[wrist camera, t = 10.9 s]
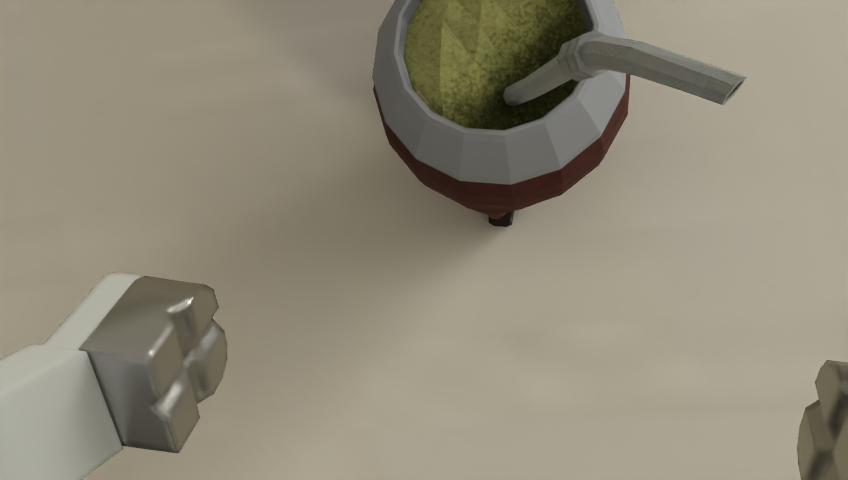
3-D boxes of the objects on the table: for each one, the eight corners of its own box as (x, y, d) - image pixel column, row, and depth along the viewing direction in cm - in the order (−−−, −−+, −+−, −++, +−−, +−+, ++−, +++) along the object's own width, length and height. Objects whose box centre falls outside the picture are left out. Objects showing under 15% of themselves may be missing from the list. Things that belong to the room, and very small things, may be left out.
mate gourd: (420, 37, 28) (286, -337, 14) (647, 47, 27) (769, -355, 12) (395, 242, 27) (218, 73, 12) (632, 263, 26) (747, 102, 11)
